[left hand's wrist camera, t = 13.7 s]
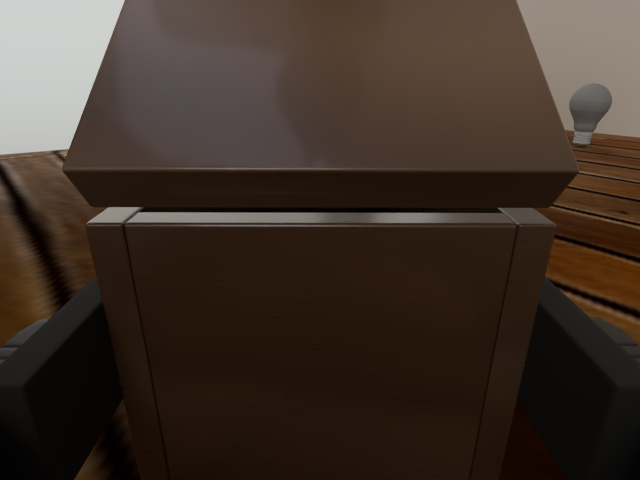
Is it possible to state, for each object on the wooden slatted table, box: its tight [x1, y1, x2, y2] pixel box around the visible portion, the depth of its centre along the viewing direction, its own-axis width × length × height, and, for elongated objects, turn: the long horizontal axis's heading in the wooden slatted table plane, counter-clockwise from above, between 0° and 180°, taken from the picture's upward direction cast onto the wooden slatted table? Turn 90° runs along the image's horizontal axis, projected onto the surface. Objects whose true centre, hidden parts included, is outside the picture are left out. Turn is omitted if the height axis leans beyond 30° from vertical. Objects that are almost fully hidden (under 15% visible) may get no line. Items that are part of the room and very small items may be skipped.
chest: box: [86, 207, 556, 480], centre depth 18 cm, size 16×10×10 cm, turn 0°
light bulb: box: [569, 84, 612, 146], centre depth 73 cm, size 6×6×10 cm
